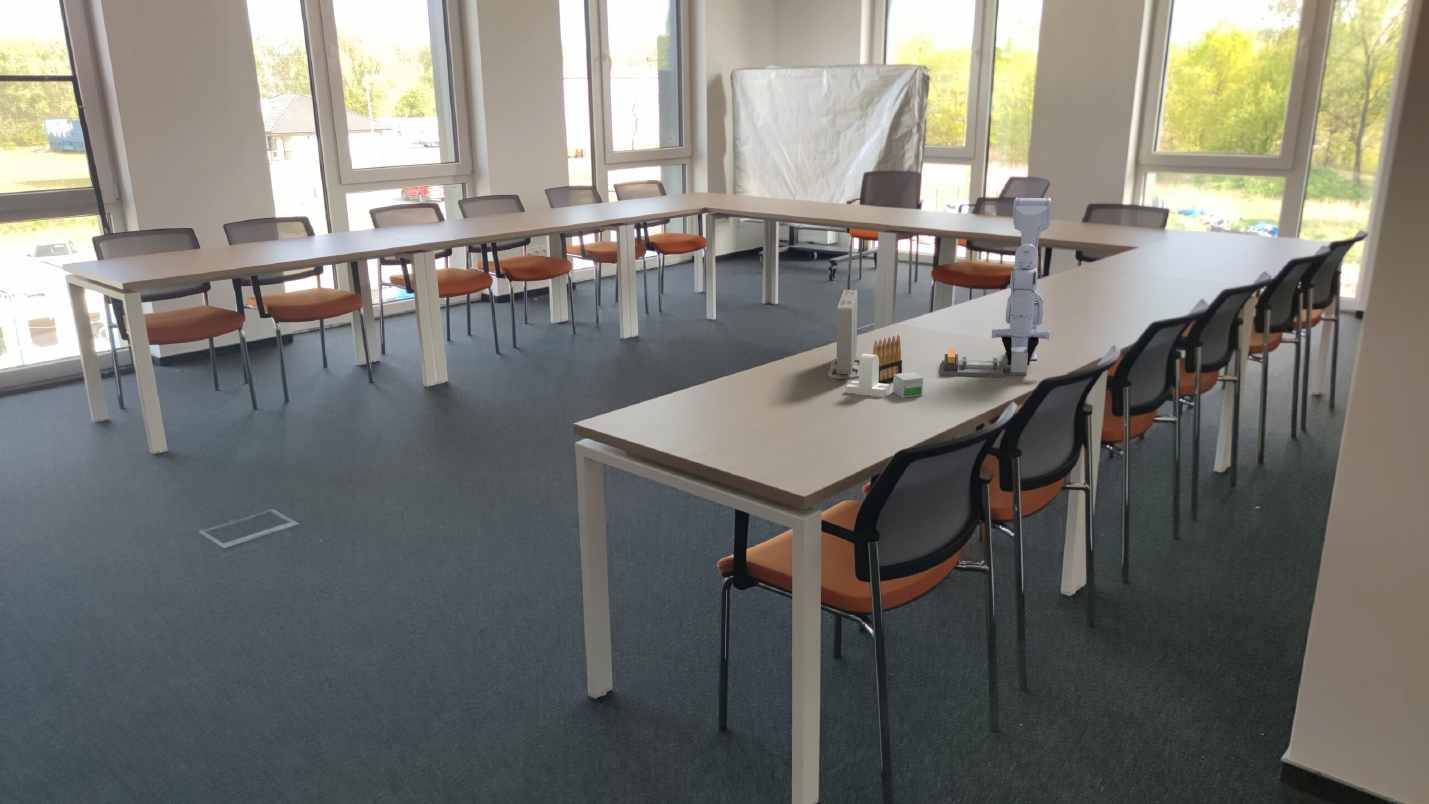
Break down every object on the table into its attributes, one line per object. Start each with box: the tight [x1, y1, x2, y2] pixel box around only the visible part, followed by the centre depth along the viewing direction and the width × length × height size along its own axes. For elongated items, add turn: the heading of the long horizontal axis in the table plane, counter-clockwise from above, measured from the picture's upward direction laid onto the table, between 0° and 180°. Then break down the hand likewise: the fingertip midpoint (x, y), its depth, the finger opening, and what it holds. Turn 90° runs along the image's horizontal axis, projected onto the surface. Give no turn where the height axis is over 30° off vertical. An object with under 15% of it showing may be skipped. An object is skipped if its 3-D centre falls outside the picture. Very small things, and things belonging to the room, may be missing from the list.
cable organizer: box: [846, 353, 890, 398], centre depth 242 cm, size 5×10×10 cm, turn 62°
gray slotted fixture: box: [943, 353, 1000, 371], centre depth 260 cm, size 10×14×2 cm
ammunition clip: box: [872, 334, 903, 384], centre depth 250 cm, size 11×2×12 cm, turn 130°
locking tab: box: [947, 348, 956, 363], centre depth 260 cm, size 8×2×2 cm, turn 167°
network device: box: [827, 289, 860, 380], centre depth 262 cm, size 26×9×20 cm, turn 168°
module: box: [1008, 347, 1028, 376], centre depth 257 cm, size 7×4×6 cm, turn 167°
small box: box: [892, 371, 924, 399], centre depth 241 cm, size 6×6×5 cm
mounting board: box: [940, 359, 1005, 378], centre depth 260 cm, size 12×16×1 cm
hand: (1018, 364), depth 257 cm, fingers closed on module, 4 cm apart
